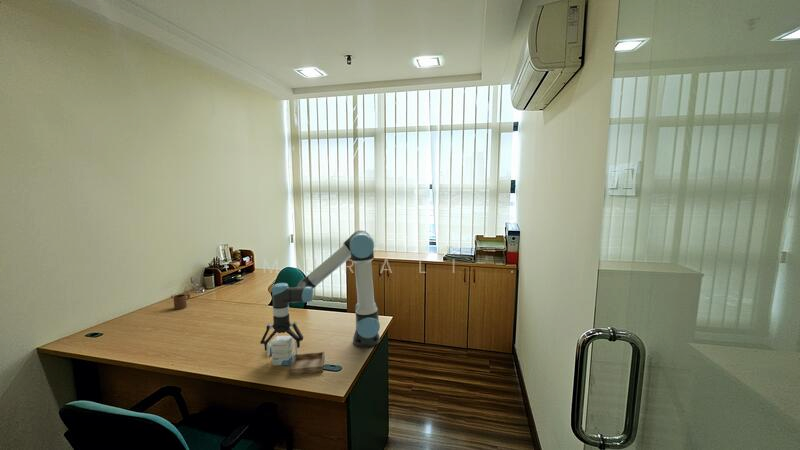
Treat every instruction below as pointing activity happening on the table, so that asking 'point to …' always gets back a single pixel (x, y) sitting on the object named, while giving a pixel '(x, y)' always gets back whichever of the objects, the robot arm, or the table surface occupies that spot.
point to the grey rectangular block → (270, 346)
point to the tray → (307, 363)
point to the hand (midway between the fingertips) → (282, 354)
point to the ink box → (282, 350)
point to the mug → (181, 301)
